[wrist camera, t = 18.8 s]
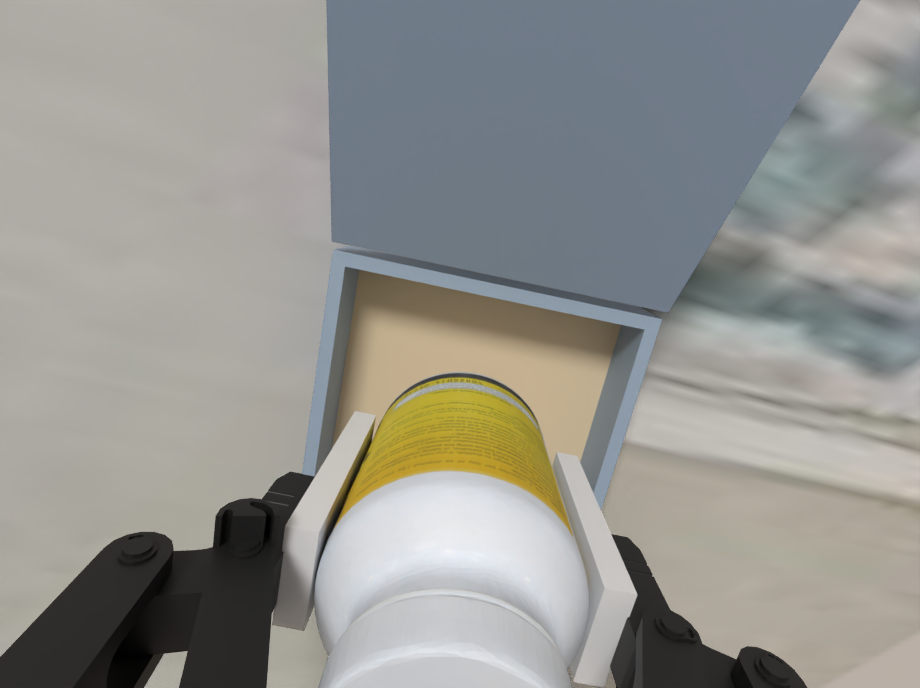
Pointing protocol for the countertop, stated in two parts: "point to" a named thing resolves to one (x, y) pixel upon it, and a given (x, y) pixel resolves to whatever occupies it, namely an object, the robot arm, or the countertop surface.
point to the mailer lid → (560, 130)
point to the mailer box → (478, 351)
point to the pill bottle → (453, 550)
